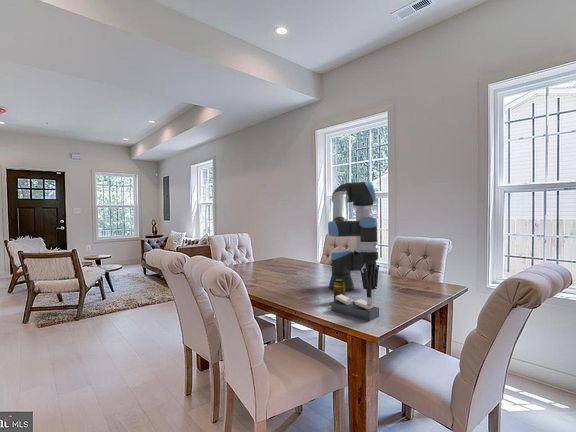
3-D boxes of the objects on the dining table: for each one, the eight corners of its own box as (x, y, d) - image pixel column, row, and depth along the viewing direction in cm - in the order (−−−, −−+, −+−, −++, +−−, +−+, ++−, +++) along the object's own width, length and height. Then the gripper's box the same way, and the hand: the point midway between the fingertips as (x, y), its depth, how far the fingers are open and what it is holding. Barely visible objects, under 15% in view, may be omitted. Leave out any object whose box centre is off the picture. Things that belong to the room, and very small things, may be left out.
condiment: (330, 303, 159) (330, 280, 158) (339, 299, 165) (338, 277, 165) (342, 305, 154) (342, 282, 154) (351, 301, 161) (350, 278, 160)
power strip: (325, 309, 149) (325, 299, 149) (335, 305, 155) (335, 296, 155) (369, 321, 132) (369, 310, 131) (379, 316, 137) (379, 306, 137)
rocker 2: (355, 304, 139) (355, 300, 139) (360, 301, 142) (360, 298, 142) (368, 309, 134) (368, 306, 134) (373, 307, 137) (374, 304, 137)
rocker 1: (335, 298, 147) (336, 295, 146) (341, 296, 150) (341, 293, 150) (347, 305, 142) (348, 301, 142) (352, 302, 145) (353, 299, 145)
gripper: (368, 253, 128) (370, 309, 128) (384, 250, 137) (386, 302, 137) (353, 252, 133) (355, 306, 133) (369, 249, 143) (371, 299, 142)
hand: (370, 304), depth 135 cm, fingers closed, pressing on rocker 2
